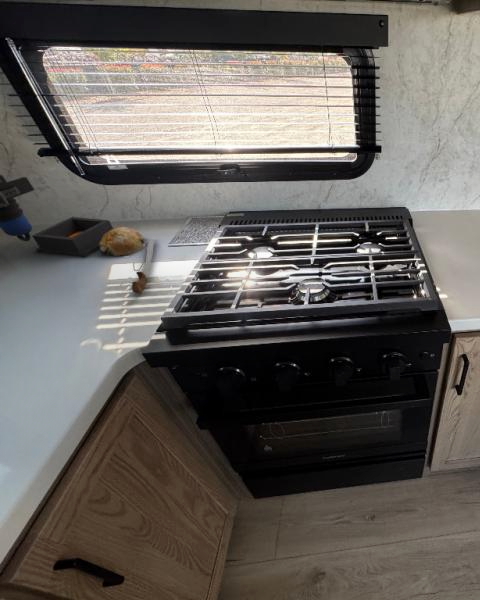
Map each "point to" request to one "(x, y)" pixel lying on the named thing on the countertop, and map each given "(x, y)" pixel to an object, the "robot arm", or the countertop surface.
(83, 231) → the dark grey tray
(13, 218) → the flashlight
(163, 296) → the countertop surface
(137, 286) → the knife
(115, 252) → the bread roll
